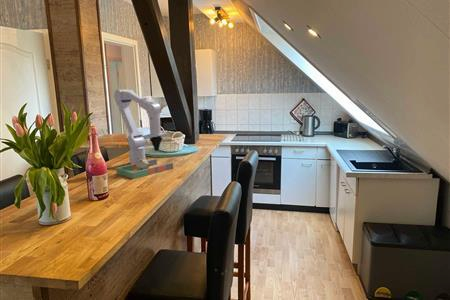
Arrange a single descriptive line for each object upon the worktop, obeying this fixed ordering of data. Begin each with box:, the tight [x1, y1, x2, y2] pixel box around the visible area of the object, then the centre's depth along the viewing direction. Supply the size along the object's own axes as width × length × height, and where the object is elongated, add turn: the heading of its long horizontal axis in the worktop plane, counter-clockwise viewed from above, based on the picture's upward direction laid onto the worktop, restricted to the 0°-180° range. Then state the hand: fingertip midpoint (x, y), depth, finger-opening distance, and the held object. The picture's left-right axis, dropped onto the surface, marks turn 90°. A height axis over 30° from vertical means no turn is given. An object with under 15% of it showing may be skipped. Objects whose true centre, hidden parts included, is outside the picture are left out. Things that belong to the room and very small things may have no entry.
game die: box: [133, 157, 152, 171], centre depth 172 cm, size 9×8×10 cm
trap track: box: [115, 158, 174, 180], centre depth 176 cm, size 16×25×3 cm, turn 138°
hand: (156, 150), depth 183 cm, fingers closed
